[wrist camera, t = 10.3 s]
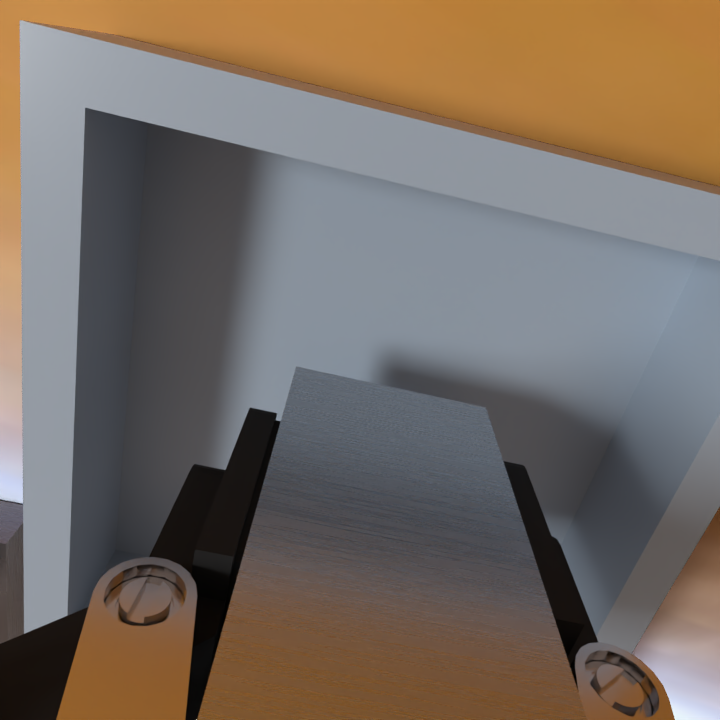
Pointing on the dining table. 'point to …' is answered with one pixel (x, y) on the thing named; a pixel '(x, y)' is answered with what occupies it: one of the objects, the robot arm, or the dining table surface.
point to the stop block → (387, 572)
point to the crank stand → (11, 571)
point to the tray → (347, 306)
